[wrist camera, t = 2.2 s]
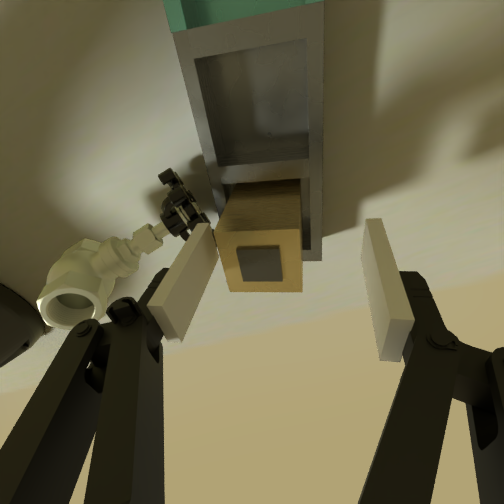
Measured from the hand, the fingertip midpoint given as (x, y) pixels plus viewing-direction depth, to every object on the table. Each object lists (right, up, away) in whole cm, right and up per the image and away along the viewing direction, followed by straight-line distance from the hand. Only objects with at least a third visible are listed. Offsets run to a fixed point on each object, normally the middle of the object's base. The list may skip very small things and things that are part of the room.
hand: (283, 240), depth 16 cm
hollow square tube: (0, +3, +5) cm, 6 cm away
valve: (-12, +1, +6) cm, 14 cm away
